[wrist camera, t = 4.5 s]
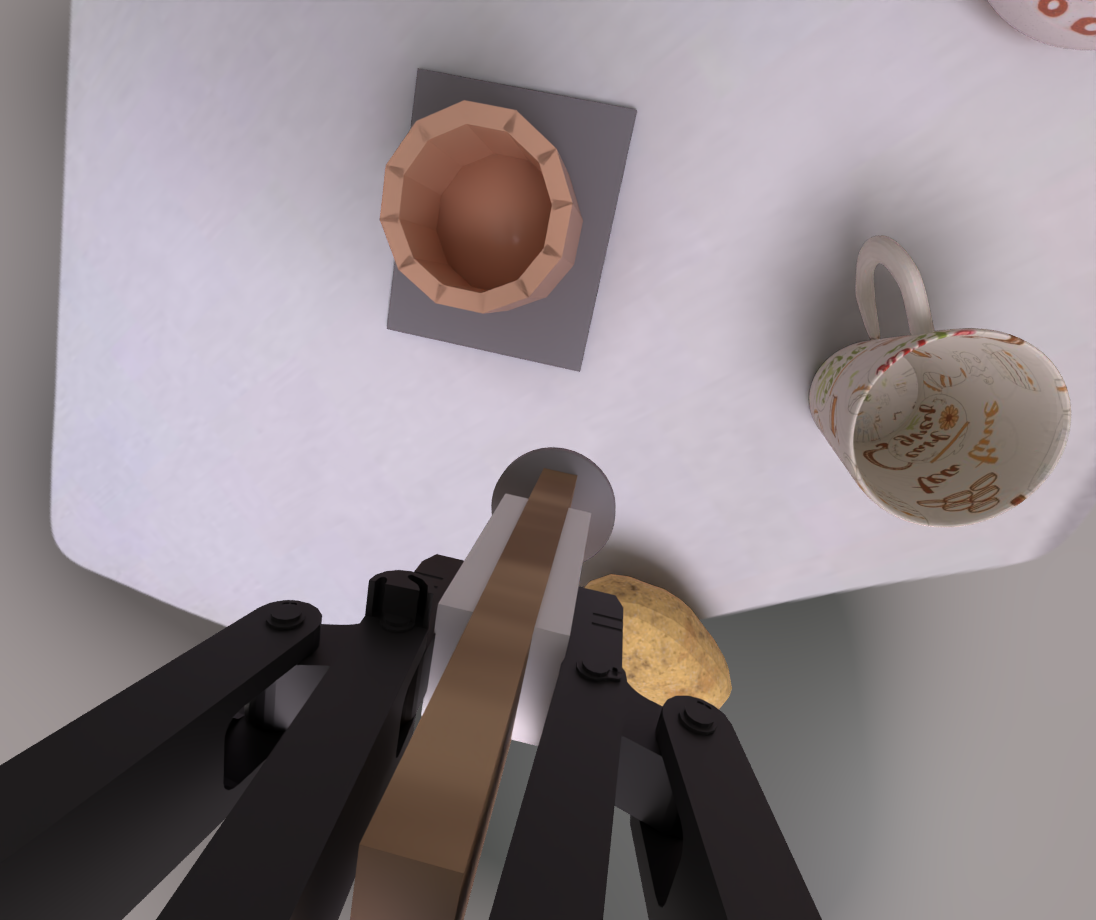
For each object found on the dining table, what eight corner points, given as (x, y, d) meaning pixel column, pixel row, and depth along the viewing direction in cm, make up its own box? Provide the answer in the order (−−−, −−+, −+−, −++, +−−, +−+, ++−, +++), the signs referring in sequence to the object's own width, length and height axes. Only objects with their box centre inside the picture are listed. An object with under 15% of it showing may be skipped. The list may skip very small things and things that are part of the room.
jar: (439, 127, 32) (394, 86, 26) (596, 157, 32) (588, 123, 25) (417, 290, 35) (372, 289, 29) (562, 322, 34) (548, 327, 28)
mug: (806, 481, 35) (872, 550, 26) (751, 275, 33) (803, 266, 23) (955, 440, 33) (1086, 497, 24) (911, 218, 31) (1038, 184, 21)
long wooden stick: (505, 435, 21) (225, 757, 6) (628, 462, 20) (621, 866, 6) (486, 546, 22) (217, 1021, 8) (601, 573, 22) (544, 1121, 7)
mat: (420, 71, 32) (417, 68, 32) (636, 112, 31) (636, 109, 31) (389, 328, 36) (386, 328, 36) (580, 370, 35) (579, 371, 35)
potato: (624, 529, 38) (624, 573, 32) (746, 641, 39) (768, 704, 33) (553, 595, 39) (541, 648, 33) (672, 700, 40) (680, 770, 34)
